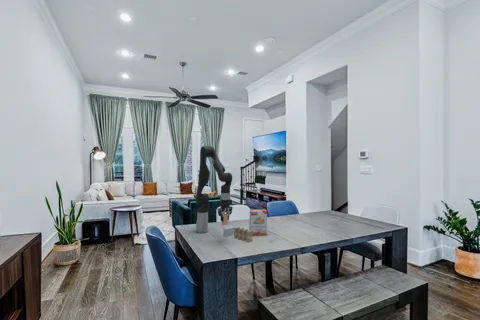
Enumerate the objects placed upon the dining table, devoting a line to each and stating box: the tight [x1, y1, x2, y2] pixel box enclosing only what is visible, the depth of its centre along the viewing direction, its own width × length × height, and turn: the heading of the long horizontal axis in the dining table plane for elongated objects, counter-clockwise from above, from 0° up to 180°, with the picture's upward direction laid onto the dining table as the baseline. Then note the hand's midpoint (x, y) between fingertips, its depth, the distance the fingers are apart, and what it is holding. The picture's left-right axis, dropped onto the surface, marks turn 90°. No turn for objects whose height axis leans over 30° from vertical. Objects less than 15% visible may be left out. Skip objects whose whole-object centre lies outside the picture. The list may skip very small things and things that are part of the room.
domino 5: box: [245, 230, 253, 243], centre depth 192 cm, size 2×5×8 cm, turn 135°
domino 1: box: [221, 213, 229, 226], centre depth 191 cm, size 2×5×8 cm, turn 135°
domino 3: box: [237, 227, 245, 240], centre depth 199 cm, size 2×5×8 cm, turn 135°
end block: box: [222, 226, 236, 238], centre depth 209 cm, size 3×10×6 cm, turn 135°
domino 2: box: [233, 226, 241, 239], centre depth 202 cm, size 2×5×8 cm, turn 135°
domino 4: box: [241, 228, 249, 242], centre depth 195 cm, size 2×5×8 cm, turn 135°
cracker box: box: [248, 209, 268, 237], centre depth 211 cm, size 14×6×21 cm, turn 101°
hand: (224, 220), depth 191 cm, fingers closed on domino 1, 5 cm apart
